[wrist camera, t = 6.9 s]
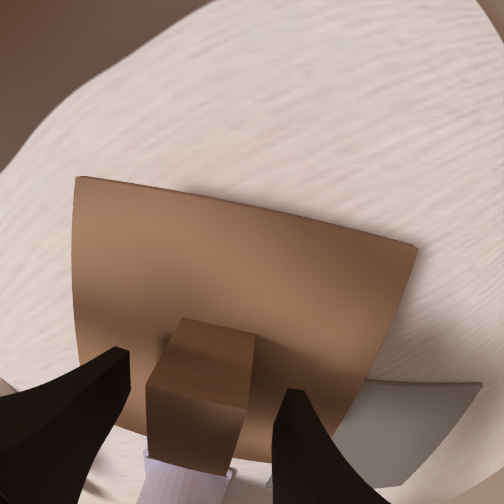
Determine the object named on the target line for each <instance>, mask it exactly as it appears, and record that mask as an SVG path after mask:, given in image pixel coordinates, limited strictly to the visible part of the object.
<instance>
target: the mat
mask: <svg viewBox="0 0 504 504" xmlns="http://www.w3.org/2000/svg"><path fill="white" fill-rule="evenodd" d="M482 386H483V385H482V383H406V382H387V381H373V380H364V382H363V384H362V386H361V388H360V390H359V392H358V393H357V395H356V397H355V399H354V401H353V402H352V404H351V406H350V408H349V410H348V411H347V413H346V415H345V416H344V418H343V420H342V422H341V423H340V425H339V427H338V428H337V430H336V431H335V433H334V435H333V436H332V438H331V439H332V440H333V442H334V443H335V445H336V446H337V448H338V449H339V451H340V452H341V453H342V455H343V456H344V457H345V459H346V460H347V461H348V463H349V464H350V465H351V466H352V467H353V469H354V470H355V471H356V472H357V473H358V474H359V475H360V476H361V478H362V479H363V480H364V481H365V482H366V483H367V484H369V485H370V486H371V487H372V488H373V489H375V488H385V487H393V486H400V485H402V484H403V483H404V482H405V481H406V480H407V479H408V478H409V477H410V476H411V475H412V474H413V473H414V472H415V471H416V470H417V469H418V468H419V467H420V466H421V465H422V464H423V463H424V462H425V461H426V459H427V458H428V457H429V456H430V455H431V454H432V453H433V452H434V450H435V449H436V448H437V447H438V446H439V445H440V443H441V442H442V441H443V440H444V439H445V437H446V436H447V435H448V434H449V432H450V431H451V430H452V429H453V427H454V426H455V425H456V423H457V422H458V421H459V419H460V418H461V417H462V415H463V414H464V413H465V411H466V410H467V408H468V407H469V406H470V404H471V403H472V401H473V400H474V398H475V397H476V395H477V394H478V392H479V391H480V389H481V388H482ZM266 488H273V482H272V476H271V477H270V479H269V481H268V482H267V484H266Z"/></svg>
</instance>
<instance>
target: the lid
mask: <svg viewBox="0 0 504 504" xmlns="http://www.w3.org/2000/svg"><path fill="white" fill-rule="evenodd" d="M417 251H418V248H416V247H415V246H413V245H412V244H408V243H404V242H401V241H397V240H393V239H390V238H386V237H382V236H378V235H375V234H371V233H367V232H363V231H359V230H355V229H351V228H347V227H343V226H339V225H335V224H331V223H327V222H323V221H319V220H314V219H310V218H306V217H301V216H297V215H293V214H288V213H284V212H279V211H275V210H270V209H266V208H261V207H256V206H252V205H247V204H242V203H237V202H232V201H227V200H222V199H217V198H212V197H207V196H202V195H196V194H191V193H186V192H180V191H175V190H169V189H164V188H158V187H152V186H146V185H140V184H134V183H128V182H121V181H115V180H108V179H102V178H95V177H88V176H79V177H76V179H75V189H74V201H73V217H72V252H71V257H72V293H73V308H74V320H75V330H76V339H77V347H78V354H79V361H80V366H81V365H83V364H85V363H87V362H88V361H90V360H92V359H93V358H95V357H97V356H99V355H100V354H102V353H104V352H105V351H107V350H109V349H111V348H112V347H114V346H117V347H120V348H123V349H126V350H129V351H130V376H131V392H130V394H129V396H128V399H127V401H126V404H125V406H124V408H123V410H122V412H121V414H120V416H119V417H118V419H117V421H116V422H115V424H114V425H116V426H119V427H122V428H124V429H127V430H130V431H133V432H136V433H139V434H142V435H145V436H147V441H148V455H149V458H151V459H154V460H157V461H161V462H164V463H168V464H171V465H175V466H179V467H182V468H186V469H190V470H195V471H199V472H203V473H208V474H213V475H218V476H223V477H226V474H227V471H228V469H229V466H230V463H231V460H232V458H238V459H244V460H251V461H258V462H265V463H272V456H271V444H272V433H273V423H274V421H275V419H276V416H277V414H278V411H279V409H280V406H281V404H282V401H283V399H284V396H285V393H286V391H287V388H292V389H299V390H304V391H305V392H306V394H307V396H308V398H309V400H310V402H311V404H312V406H313V408H314V409H315V411H316V413H317V415H318V417H319V419H320V420H321V422H322V424H323V426H324V427H325V429H326V431H327V432H328V434H329V436H330V437H331V438H332V436H333V435H334V433H335V431H336V430H337V428H338V427H339V425H340V423H341V422H342V420H343V418H344V416H345V415H346V413H347V411H348V410H349V408H350V406H351V404H352V402H353V401H354V399H355V397H356V395H357V393H358V392H359V390H360V388H361V386H362V384H363V382H364V380H365V378H366V376H367V374H368V372H369V370H370V368H371V366H372V364H373V362H374V360H375V358H376V356H377V354H378V352H379V350H380V347H381V345H382V343H383V341H384V339H385V336H386V334H387V332H388V329H389V327H390V325H391V322H392V320H393V318H394V315H395V313H396V310H397V308H398V305H399V303H400V300H401V297H402V295H403V292H404V289H405V287H406V284H407V281H408V278H409V275H410V273H411V270H412V267H413V264H414V261H415V258H416V255H417Z"/></svg>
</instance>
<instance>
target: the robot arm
mask: <svg viewBox="0 0 504 504" xmlns="http://www.w3.org/2000/svg"><path fill="white" fill-rule="evenodd" d="M130 392H131V376H130V351H129V350H126V349H123V348H120V347H117V346H114V347H112V348H111V349H109V350H107V351H105V352H104V353H102V354H100V355H99V356H97V357H95V358H93V359H92V360H90V361H88V362H87V363H85V364H83V365H81V366H79V367H78V368H76V369H74V370H72V371H70V372H68V373H66V374H64V375H62V376H60V377H58V378H56V379H54V380H52V381H49V382H47V383H45V384H42V385H40V386H37V387H34V388H31V389H28V390H25V391H21V392H17V393H13V394H9V395H5V396H1V397H0V504H77V503H78V500H79V497H80V494H81V491H82V488H83V486H84V483H85V480H86V478H87V475H88V473H89V470H90V468H91V465H92V463H93V461H94V459H95V457H96V455H97V453H98V451H99V449H100V448H101V446H102V444H103V442H104V441H105V439H106V437H107V436H108V434H109V432H110V431H111V429H112V427H113V426H114V424H115V422H116V421H117V419H118V417H119V416H120V414H121V412H122V410H123V408H124V406H125V404H126V401H127V399H128V396H129V394H130ZM143 454H144V463H145V471H146V479H145V482H144V485H143V487H142V490H141V493H140V495H139V498H138V501H137V504H221V503H222V500H223V498H224V495H225V493H226V490H227V487H228V485H229V482H230V479H231V477H232V473H233V472H232V470H230V469H228V471H227V474H226V477H223V476H218V475H213V474H208V473H203V472H199V471H195V470H190V469H186V468H182V467H179V466H175V465H171V464H168V463H164V462H161V461H157V460H154V459H151V458H149V455H148V449H145V450H144V452H143ZM271 456H272V482H273V504H391V503H389V502H388V501H387V500H386V499H384V498H383V497H382V496H381V495H380V494H378V493H377V492H376V491H375V490H374V489H373V488H372V487H371V486H370V485H369V484H367V483H366V482H365V481H364V480H363V479H362V478H361V476H360V475H359V474H358V473H357V472H356V471H355V470H354V469H353V467H352V466H351V465H350V464H349V463H348V461H347V460H346V459H345V457H344V456H343V455H342V453H341V452H340V451H339V449H338V448H337V446H336V445H335V443H334V442H333V440H332V439H331V437H330V436H329V434H328V432H327V431H326V429H325V427H324V426H323V424H322V422H321V420H320V419H319V417H318V415H317V413H316V411H315V409H314V408H313V406H312V404H311V402H310V400H309V398H308V396H307V394H306V392H305V391H304V390H299V389H292V388H287V391H286V393H285V396H284V399H283V401H282V404H281V406H280V409H279V411H278V414H277V416H276V419H275V421H274V423H273V433H272V444H271Z"/></svg>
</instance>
